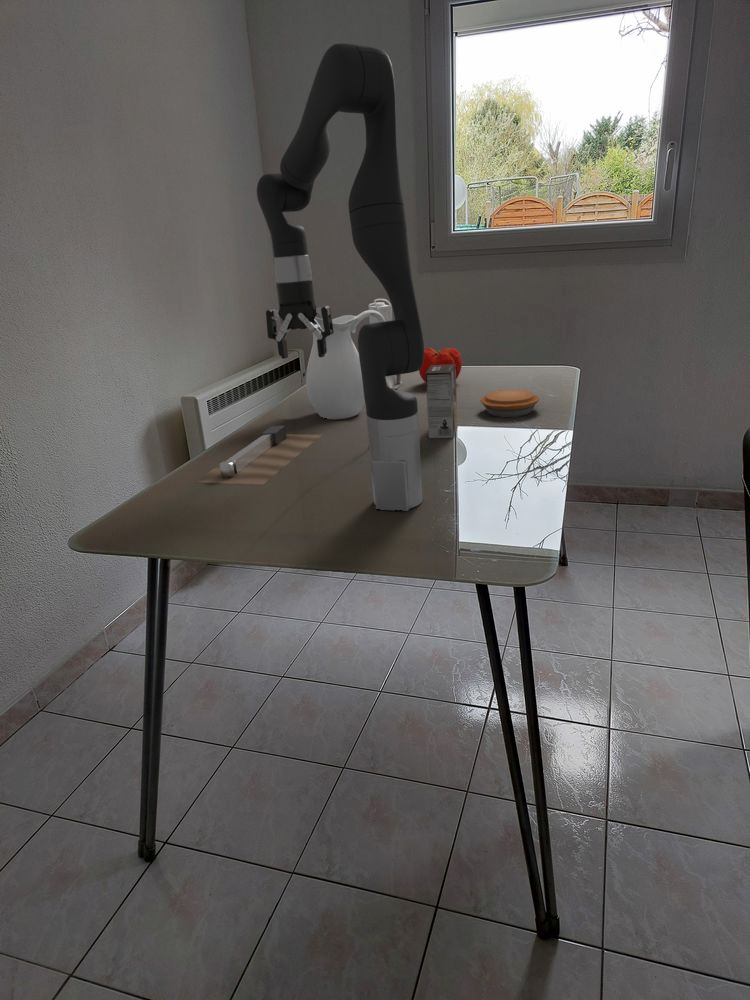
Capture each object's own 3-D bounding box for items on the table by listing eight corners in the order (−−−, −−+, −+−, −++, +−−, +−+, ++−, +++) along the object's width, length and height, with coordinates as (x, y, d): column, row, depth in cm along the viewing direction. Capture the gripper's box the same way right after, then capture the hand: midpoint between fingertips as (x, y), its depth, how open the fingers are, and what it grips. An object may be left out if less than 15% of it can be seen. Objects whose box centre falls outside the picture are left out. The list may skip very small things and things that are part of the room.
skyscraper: (395, 390, 210) (389, 298, 199) (370, 390, 213) (363, 299, 202) (402, 384, 217) (397, 295, 207) (378, 384, 220) (372, 296, 209)
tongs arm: (240, 472, 143) (238, 459, 142) (233, 472, 144) (230, 459, 143) (286, 437, 165) (285, 426, 164) (279, 437, 166) (278, 425, 165)
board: (263, 491, 136) (262, 484, 136) (195, 488, 141) (193, 482, 140) (322, 440, 166) (321, 434, 166) (264, 439, 171) (263, 434, 170)
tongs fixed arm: (231, 478, 141) (228, 465, 139) (217, 478, 141) (214, 465, 140) (285, 438, 165) (283, 426, 164) (273, 437, 166) (271, 426, 165)
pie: (510, 401, 188) (510, 383, 186) (551, 411, 176) (552, 392, 174) (468, 412, 181) (467, 394, 179) (508, 423, 168) (508, 404, 167)
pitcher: (316, 426, 179) (304, 320, 168) (304, 411, 194) (293, 313, 183) (400, 413, 184) (394, 309, 174) (383, 400, 200) (376, 304, 189)
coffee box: (432, 427, 170) (430, 364, 163) (457, 427, 168) (456, 363, 162) (428, 438, 161) (425, 372, 155) (454, 438, 160) (452, 371, 154)
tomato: (415, 389, 209) (413, 352, 205) (425, 379, 222) (424, 343, 217) (457, 389, 205) (456, 351, 201) (465, 379, 218) (464, 342, 213)
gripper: (255, 283, 137) (266, 361, 143) (320, 278, 134) (329, 359, 140) (269, 280, 144) (279, 355, 150) (331, 275, 140) (339, 353, 146)
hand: (303, 357), depth 145 cm, fingers open, 8 cm apart
